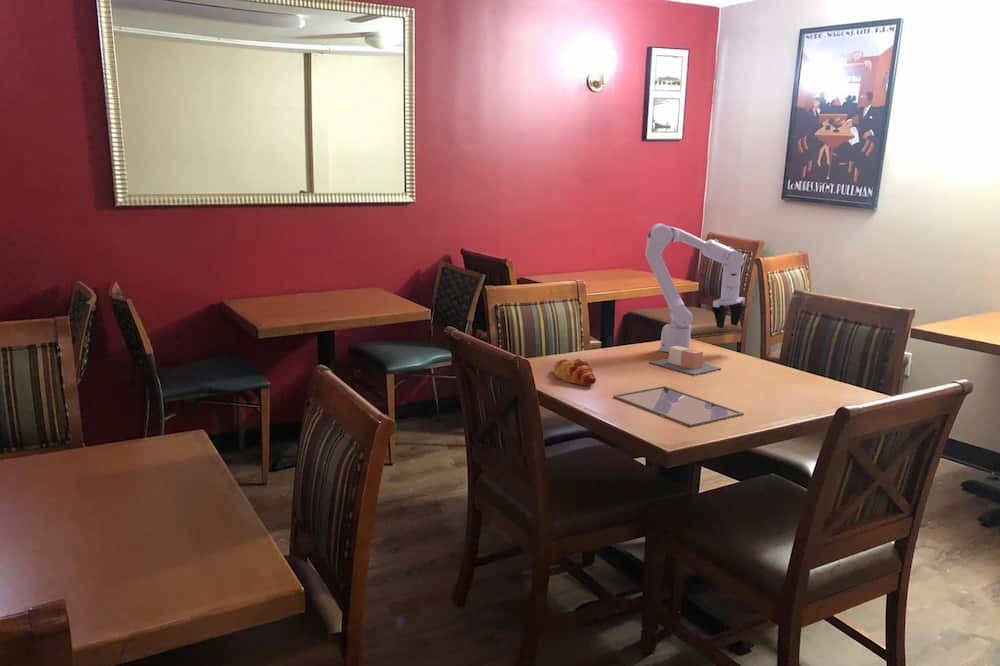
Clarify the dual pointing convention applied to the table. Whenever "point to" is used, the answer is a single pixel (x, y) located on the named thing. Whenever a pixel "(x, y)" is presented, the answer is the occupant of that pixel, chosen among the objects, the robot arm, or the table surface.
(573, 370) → the croissant
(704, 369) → the mat
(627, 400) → the picture frame
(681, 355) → the two-tone block
